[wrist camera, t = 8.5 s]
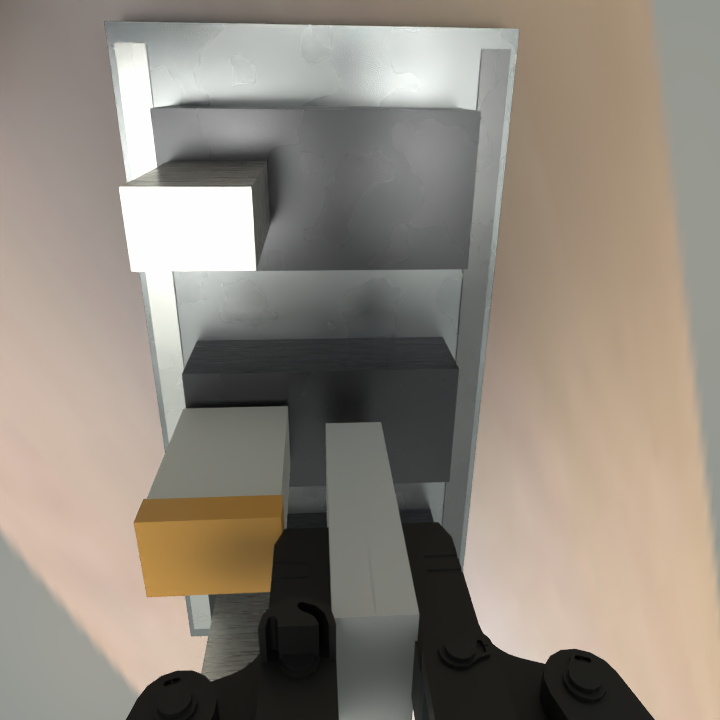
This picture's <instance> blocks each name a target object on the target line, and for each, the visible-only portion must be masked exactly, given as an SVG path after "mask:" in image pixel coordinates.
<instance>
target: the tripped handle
mask: <svg viewBox="0 0 720 720" xmlns="http://www.w3.org/2000/svg"><path fill="white" fill-rule="evenodd" d="M289 479H290V442H289V418H288V406H271V407H228V408H185V409H183V411H182V413H181V416H180V418H179V420H178V423H177V425H176V428H175V430H174V433H173V435H172V438H171V440H170V443H169V445H168V448H167V450H166V453H165V455H164V458H163V460H162V463H161V465H160V468H159V470H158V473H157V475H156V478H155V480H154V482H153V485H152V487H151V490H150V492H149V495H148V497H147V499H143V502H142V504H141V506H140V509H139V511H138V514H137V516H136V519H135V521H134V526H135V532H136V538H137V543H138V549H139V555H140V561H141V566H142V572H143V578H144V583H145V589H146V595H147V597H165V596H188V595H211V594H234V593H257V592H270V588H271V576H272V567H273V553H274V545H275V543H276V542H277V540H278V538H279V537H280V535H281V534H282V532H283V531H284V529H286V528H287V512H288V495H289Z"/></svg>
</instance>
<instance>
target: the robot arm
mask: <svg viewBox="0 0 720 720" xmlns="http://www.w3.org/2000/svg"><path fill="white" fill-rule="evenodd" d="M326 500H327V528H300V529H284V531H283V532H282V534H281V535H280V537H279V538H278V540H277V542H276V543H275V545H274V553H273V567H272V576H271V588H270V599H269V609H268V610H267V611H266V612H265V613H264V614H263V615H262V617H261V620H260V623H259V626H258V639H259V652H260V653H259V655H258V656H257V657H256V658H255V659H254V660H253V661H252V662H251V663H250V664H249V665H247V666H246V667H245V668H243V669H242V670H239V671H237V672H235V673H233V674H231V675H228V676H225V677H222V678H220V679H217V680H214V681H210V680H209V679H208V678H207V677H206V676H205V675H203V674H200V673H197V672H195V671H175V672H172V673H169V674H166V675H163V676H161V677H159V678H158V679H157V680H155V681H154V682H152V683H151V684H150V685H148V686H147V687H146V689H145V690H144V691H143V692H142V694H141V695H140V696H139V697H138V699H137V700H136V702H135V704H134V706H133V708H132V710H131V712H130V713H129V715H128V717H127V719H126V720H412V711H413V710H414V717H415V720H654V718H653V717H652V716H651V714H650V713H649V712H648V711H647V709H646V708H645V707H644V706H643V704H642V703H641V702H640V701H639V699H638V698H637V697H636V696H635V694H634V693H633V692H632V691H631V689H630V688H629V687H628V686H627V684H626V683H625V682H624V681H623V679H622V678H621V677H620V675H619V674H618V673H617V672H616V671H615V670H614V669H613V668H612V667H611V666H610V665H609V664H608V663H607V662H606V661H605V660H603V659H601V658H599V657H597V656H596V655H594V654H592V653H590V652H586V651H582V650H577V649H568V650H560V651H558V652H557V653H555V654H553V655H551V656H550V657H549V659H548V660H547V662H546V664H543V663H539V662H535V661H530V660H526V659H522V658H518V657H516V656H513V655H510V654H507V653H506V652H504V651H502V650H500V649H498V648H497V647H496V646H495V645H493V644H492V642H491V640H490V639H489V638H488V637H487V636H486V635H485V634H483V632H482V630H481V628H480V626H479V624H478V620H477V617H476V614H475V611H474V607H473V604H472V601H471V598H470V594H469V591H468V588H467V584H466V581H465V578H464V575H463V572H462V568H461V565H460V562H459V558H458V557H457V552H456V548H455V545H454V542H453V539H452V536H451V535H450V534H449V533H448V532H447V531H446V530H445V529H444V528H443V527H442V525H441V524H440V523H439V522H428V523H401V520H400V515H399V510H398V505H397V500H396V495H395V490H394V485H393V479H392V474H391V469H390V464H389V459H388V454H387V449H386V444H385V439H384V434H383V429H382V424H381V422H362V423H326Z"/></svg>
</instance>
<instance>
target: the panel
mask: <svg viewBox="0 0 720 720" xmlns="http://www.w3.org/2000/svg"><path fill="white" fill-rule="evenodd" d="M104 23H105V30H106V37H107V44H108V52H109V59H110V66H111V73H112V80H113V87H114V94H115V101H116V108H117V115H118V122H119V130H120V137H121V144H122V151H123V158H124V165H125V172H126V179H127V183H125V184H124V185H122V186H120V187H119V191H120V198H121V205H122V212H123V219H124V226H125V232H126V239H127V246H128V253H129V260H130V266H131V272H140V278H141V286H142V293H143V300H144V307H145V314H146V321H147V328H148V335H149V342H150V349H151V356H152V363H153V371H154V378H155V385H156V392H157V399H158V406H159V413H160V420H161V427H162V434H163V441H164V449H165V453H166V450H167V448H168V445H169V443H170V440H171V438H172V435H173V433H174V430H175V428H176V425H177V423H178V420H179V418H180V416H181V413H182V411H183V409H185V408H228V407H271V406H288V418H289V442H290V479H289V495H288V512H287V528H286V529H300V528H327V500H326V423H362V422H381V424H382V429H383V434H384V439H385V444H386V449H387V454H388V459H389V464H390V469H391V474H392V479H393V485H394V490H395V495H396V500H397V505H398V510H399V515H400V520H401V523H428V522H439V523H440V524H441V525H442V527H443V528H444V529H445V530H446V531H447V532H448V533H449V534H450V535H451V536H452V539H453V542H454V545H455V548H456V552H457V557H458V558H459V562H460V565H461V568H462V572H463V565H464V555H465V546H466V536H467V526H468V517H469V507H470V498H471V488H472V478H473V469H474V459H475V450H476V440H477V430H478V421H479V411H480V402H481V392H482V383H483V373H484V363H485V354H486V344H487V335H488V325H489V315H490V306H491V296H492V287H493V277H494V267H495V258H496V248H497V239H498V229H499V220H500V210H501V200H502V191H503V181H504V172H505V162H506V152H507V143H508V133H509V124H510V114H511V104H512V95H513V85H514V76H515V66H516V57H517V47H518V37H519V29H501V28H449V27H396V26H343V25H290V24H237V23H185V22H132V21H104ZM185 597H186V605H187V612H188V619H189V626H190V633H191V636H208V641H207V646H206V651H205V657H204V662H203V667H202V672H201V674H203V675H205V676H206V677H207V678H208V679H209V680H210V681H214V680H217V679H220V678H222V677H225V676H228V675H231V674H233V673H235V672H237V671H239V670H242V669H243V668H245V667H246V666H247V665H249V664H250V663H251V662H252V661H253V660H254V659H255V658H256V657H257V656H258V655H259V653H260V652H259V639H258V626H259V623H260V620H261V617H262V615H263V614H264V613H265V612H266V611H267V610H268V609H269V599H270V592H257V593H234V594H211V595H188V596H185Z"/></svg>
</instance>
